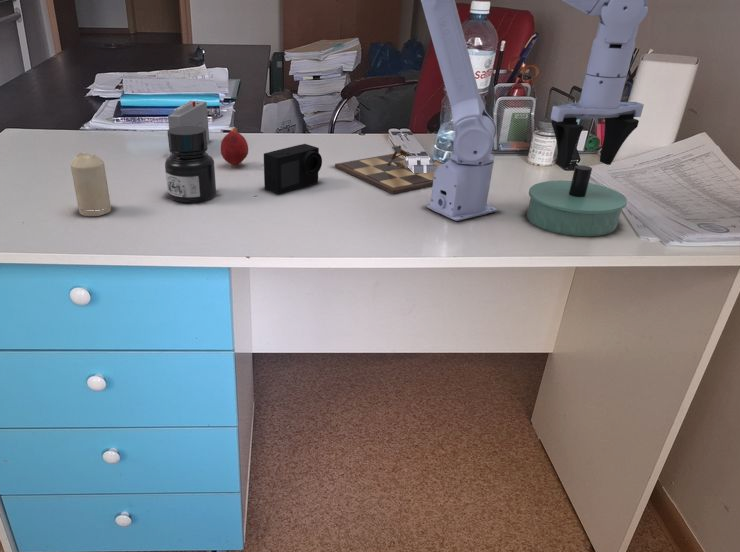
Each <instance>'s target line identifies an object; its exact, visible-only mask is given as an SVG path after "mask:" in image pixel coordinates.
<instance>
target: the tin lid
mask: <svg viewBox="0 0 740 552" xmlns="http://www.w3.org/2000/svg"><path fill="white" fill-rule="evenodd" d="M592 170H593V167H591V166H589V165H575V166H574V170H573V174H572V179H571V180H562V179H561V180H548V181H542V182H538V183H535V184H533V185H532V186H530V187H529V189H528V196H529V197H531V198H532V199H533V200H534V201H536V202H538V203H540V204H542V205H545V206H547V207H551V208H554V209H558V210H563V211H568V212H575V213H587V214H601V213H610V212H615V211H619V210H621V209H622V210H623V209H624V208H625V207H626V206H627V204H628V199H627V197H626V196H625V195H624V194H623V193H621V192H620V191H618V190H615V189H614V188H611V187H609V186H608V187H607V186H604V185H601V184H596V183H591V182H590V181H591V180H590V179H591V176H592ZM622 210H621V211H622Z"/></svg>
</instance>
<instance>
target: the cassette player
mask: <svg viewBox="0 0 740 552" xmlns="http://www.w3.org/2000/svg"><path fill="white" fill-rule="evenodd" d="M208 114H209V113H208V102H207V101H203V100H202V101H198V100H189V101H188V102H186V103H184V104H182V105H180V106H178V107H176V108H175V109H172V113H170V114H168V115H167V120H168V130H169V129H170V128H174V127H179V126H199V127H203V128H205V129H206V140H207V144H208V143H209V142H210V132H209V131H210V130H209V129H210V128H209V115H208Z"/></svg>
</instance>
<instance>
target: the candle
mask: <svg viewBox="0 0 740 552" xmlns="http://www.w3.org/2000/svg"><path fill="white" fill-rule="evenodd" d="M69 165H70V170H71V176H72V182H73V186H74V187H73V188H74V192H75V196H76V203H77V207H79V208H80V209H83V210H94V211H82V210H80V209H79V208H78V212H79V214H80V215H81V216H84V217H99V216H103V215H107V214H110V212H111V211H112V207H111V206H112V204H111V199H110V193H109V186H108V179H107V173H106V172H107V171H106V167H105V161H104V160H103V159H102V158H100V157H99V156H97V155H96V154H90V153H83V152H80V153H78V154H76V156H75V157H74V158H73V159H72V160H71V162H70V164H69ZM110 204H111V205H110ZM109 206H110V207H109ZM107 207H108V208H107ZM105 208H106V209H105ZM102 209H104V210H102ZM95 210H100V211H95Z"/></svg>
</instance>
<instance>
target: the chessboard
mask: <svg viewBox="0 0 740 552" xmlns="http://www.w3.org/2000/svg"><path fill="white" fill-rule="evenodd" d="M393 154H394V153H389V154H383V155H377V156H372V157H367V158H359V159H355V160H348V161H343V162H338V163H335V164H334V168H336V169H339V170H340V171H342V172H345V173H346V174H349V175H351V176H352V177H355V178H358V179H360V180H362V181H363V182H366V183H368V184H370V185H373V186H374V187H377V188H379V189H381V190H383V191H385V192H388V194H389V193H390V194H392V195H395V194H400V193H404V192H408V191H414V190H419V189H423V188H424V189H425V188H429V187H432V186H433V178H434V173H435V171H434V172H428V173H413V172H412V171H411V170H410V169H409V168H408V166H407V164H406V163H405V160H404V159H403V157H402V156H399V157H396V158H395V159H394V160H393V161H396V162H398V161H399V162H400V163H403V165H404V166H405V168H400V167H398V166H397V167H396V164H394V163H395V162H394V163H393V162H392V163H391V164H390V166H388V165H387V164H388V162H389V160H390V158H392V156H393ZM398 155H400V153H397V154H396V156H398ZM431 159H432V161H433V163H435V165H436V169H437V168H438V167H439V166H440V165H442V164H445V163H444V162H442V161H439V160H435V159H434V158H431Z"/></svg>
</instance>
